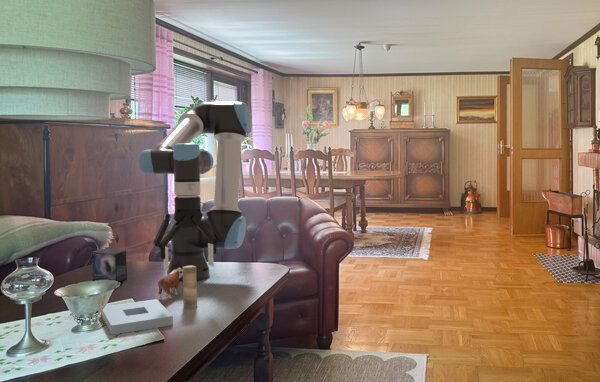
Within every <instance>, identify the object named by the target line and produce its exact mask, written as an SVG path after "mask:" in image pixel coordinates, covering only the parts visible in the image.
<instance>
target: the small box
mask: <svg viewBox="0 0 600 382" xmlns="http://www.w3.org/2000/svg"><path fill="white" fill-rule="evenodd" d="M91 261H92V279H93V278H95V279H109V280H116V281H120V282H122V281H124V280H127V279H128V273H127V272H128V270H127V268H128V267H127V266H128V265H127V250H125V249H116V248H105V247H103V248H100V249H96V250H94V251H91Z"/></svg>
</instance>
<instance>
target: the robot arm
mask: <svg viewBox="0 0 600 382" xmlns="http://www.w3.org/2000/svg"><path fill="white" fill-rule="evenodd" d="M251 116H252V115H251V113H250V109H249V107H248V105H247V104H246V103H245V102H243V101H235V100H234V101H205V102H201V103H198V104H196V105H194V106H191V107H190V108H189V109H187V110H186V111H184V112H183V113H182V114H181V115H180V116H179V118H178V121H177V124H175V126H174V127H173V128H172V129H171V130H170V132H168V134H167V135H166V136H165V137H164V138H163V139H162V140H161V142H159V144H158V145H156V147H155V148H154V149H150V148H149V149H144V150H141V152H140V154H139V157H138V165H139V169H140V171H141V172H142V173H144V174H149V175H150V174H152V175H167V174H168V175H173V177H174V179H173V184H174V185H173V186H174V187H173V189H174V190H173V191H174V194H173V195H175V197H174V213H173V214H172V213H166V212H165V213H163V219H162V220H163V221H162V222H161V225H160V227H159V229H158V231H157V234H156V235H155V238H154V240H153V242H152V244H153V246H154V247H157V248H159V257H160V259H161V260H162V261H163V270H164V271H166V274H167V275H168V274H169V273H171V272H172V271H173V270H174V269H178V268H181V269H182V270H183V267H184V266H196V278H197V281H199V280H202V279H206V278H208V277H210V267H209V266H211V267H213V266H214V265H215V264H214V255H216V254H217V250H218V249H223V250H232V249H233V250H234V249H238V248H240V247H241V246H242V245H243V242H244V240H245V237H246V232H247V231H246V230H247V220H246V217H245V216H244V215H242V211H241V209H240V208H239V189H240V187H239V186H240V176H241V175H240V174H241V158H242V157H241V156H242V155H241V154H242V143H244V141H245V140H246V139H247V135H249V134H251V133H252V127H253V126H252V117H251ZM204 134H206V135H208V134H213V137H214V139H215V140H216V141H217V149H216V150H217V152H216V164H215V165H216V168H215V183H214V196H213V197H214V198H213V206H212V207H211V208H210V209H209V210H204V211H202V209H201V208H202V207H201V202H202V201H201V196H199V195H201V175H204V174H206V173H208V172H210V171H211V170H212V168H213V166H214V163H215V162H214V161H215V159H214V157H213V155H212V154H211V152H209V150H205V149H202V148H201V149H200V144H198V143H192V142H193V140H194V139H197V138H198V137H199V136H201V135H204ZM169 225H170V230H169V231H168V232H167V234H166V231H167V229H168V227H169ZM165 234H166V235H165ZM164 235H165V236H164ZM169 243H170V248H171V250H170V251H171V254H170V255H171V256H170V260H169V247H167V246H168V244H169ZM205 249H207V257H208V258H206V256H205ZM167 275H166V276H167ZM179 282H183V276H182V277H181V278H180V279H179Z"/></svg>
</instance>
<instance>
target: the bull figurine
mask: <svg viewBox="0 0 600 382" xmlns="http://www.w3.org/2000/svg"><path fill="white" fill-rule="evenodd" d="M182 276H183V270H182V269H181V268H178V269H174V270H173V271H172V272H171V273H169V274H168V275H166V276H163V277H162V278H160V279H159V281H158V284H157V286H158V296H159V297H158V301H162V300H163V298H162V293H164V295H165V297H167V298H168V299H169V300H170V299H171V300H173V297H172V295H171V294H174V295H175V296H178V295H179V294H178V288H179V284H180V281H179V279H180V278H181V277H182ZM173 288H174V290H173Z"/></svg>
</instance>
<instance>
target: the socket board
mask: <svg viewBox="0 0 600 382" xmlns="http://www.w3.org/2000/svg"><path fill="white" fill-rule="evenodd" d="M100 316H101V318H102V320H103V322H104V321H105V322H104V324H105V323H106V324H105V325H107V326H106V327H107V329H108V331H109V333H110V335H111V336H113V335H114V336H115V335H120V333H121V334H125V333H133V332H139V331H144V330H150V329H156V328H158V329H159V328H162V327H163V328H165V327H169V326H174V316H173V314H171V313H170V312H169V311H168V309H167V308H166V307H165V306H164V305H163V304H162V303H161V301H160V300H159V299H157V298H155V299H149V300H148V299H147V300H141V301H134V302H127V303H119V304H112V305H105V308H104V309H103V310H102V311H101V310H100Z"/></svg>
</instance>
